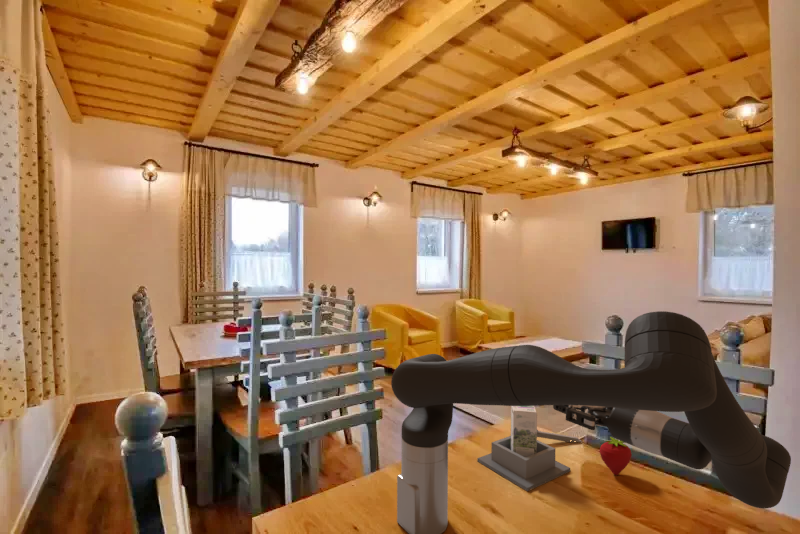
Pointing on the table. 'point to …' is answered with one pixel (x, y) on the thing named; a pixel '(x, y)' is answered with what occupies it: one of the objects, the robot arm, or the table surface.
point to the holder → (523, 464)
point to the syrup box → (523, 430)
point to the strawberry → (615, 455)
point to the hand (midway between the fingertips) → (566, 400)
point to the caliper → (557, 437)
